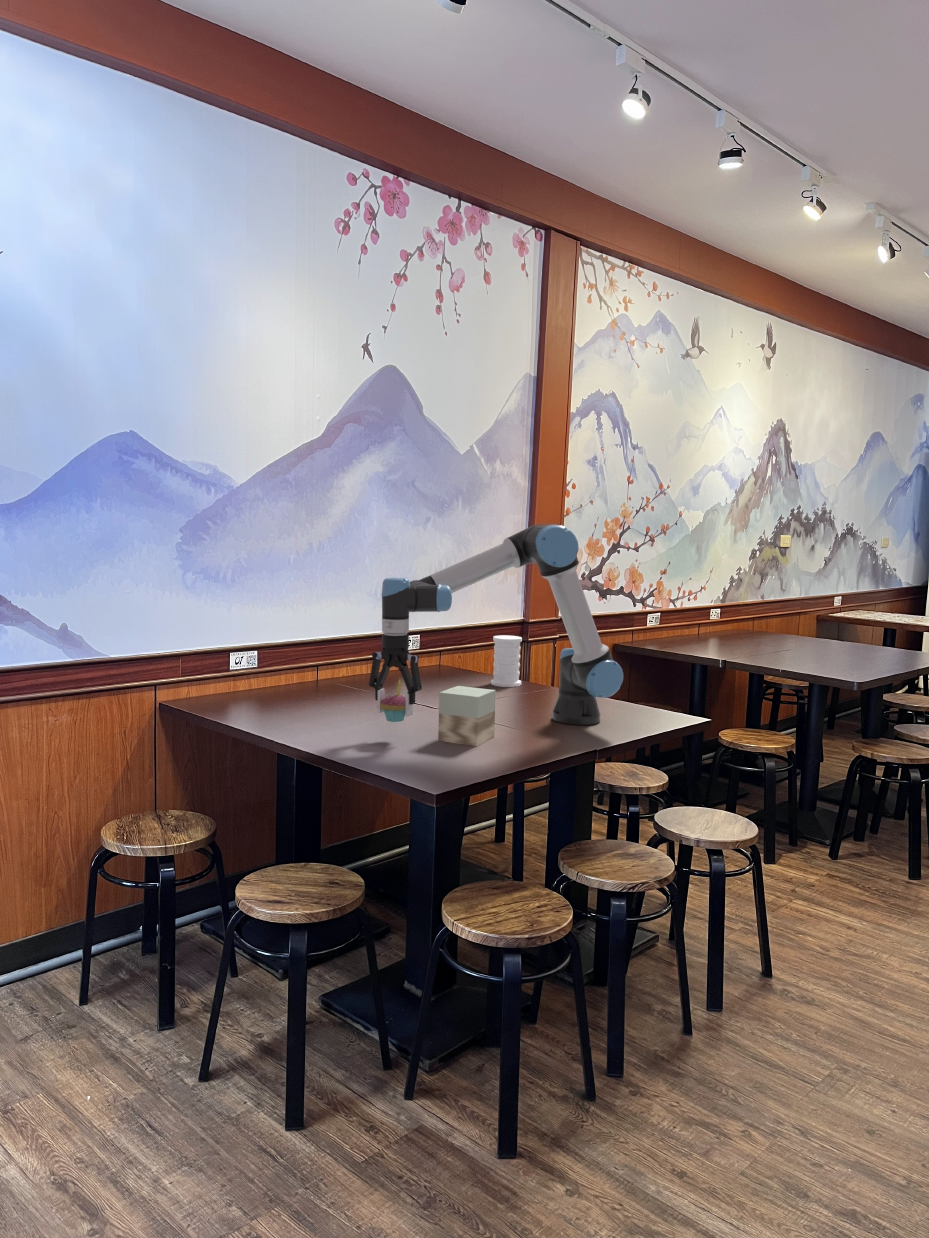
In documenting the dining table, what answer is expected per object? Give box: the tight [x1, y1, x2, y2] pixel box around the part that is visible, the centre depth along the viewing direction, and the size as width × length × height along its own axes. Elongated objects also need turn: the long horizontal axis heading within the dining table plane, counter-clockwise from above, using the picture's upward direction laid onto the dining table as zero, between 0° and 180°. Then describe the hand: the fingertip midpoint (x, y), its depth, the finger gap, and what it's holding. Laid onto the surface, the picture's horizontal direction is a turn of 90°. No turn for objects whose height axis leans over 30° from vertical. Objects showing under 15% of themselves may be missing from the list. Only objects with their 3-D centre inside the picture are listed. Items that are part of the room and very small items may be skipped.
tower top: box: [438, 685, 497, 718], centre depth 261 cm, size 12×12×6 cm
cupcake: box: [380, 676, 406, 723], centre depth 258 cm, size 9×8×12 cm
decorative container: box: [490, 634, 523, 688], centre depth 349 cm, size 12×12×18 cm
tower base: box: [437, 710, 496, 747], centre depth 262 cm, size 12×12×8 cm
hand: (395, 713), depth 258 cm, fingers closed on cupcake, 8 cm apart
